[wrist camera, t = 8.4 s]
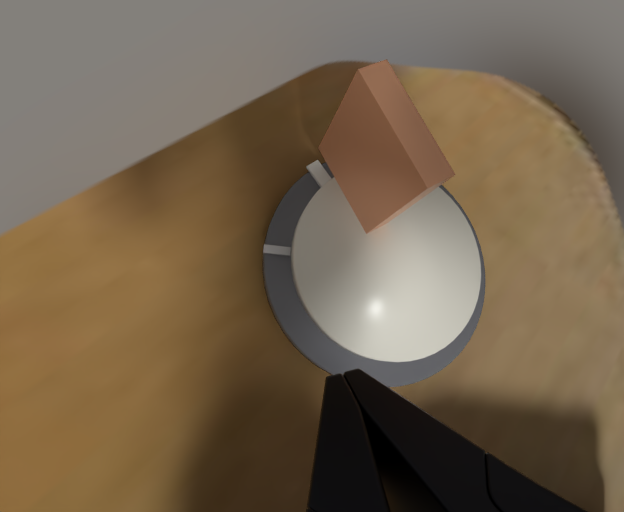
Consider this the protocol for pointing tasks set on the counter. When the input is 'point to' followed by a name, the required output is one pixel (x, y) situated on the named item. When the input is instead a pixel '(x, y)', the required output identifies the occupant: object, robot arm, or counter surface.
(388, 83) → the dial
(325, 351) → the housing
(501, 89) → the counter surface
